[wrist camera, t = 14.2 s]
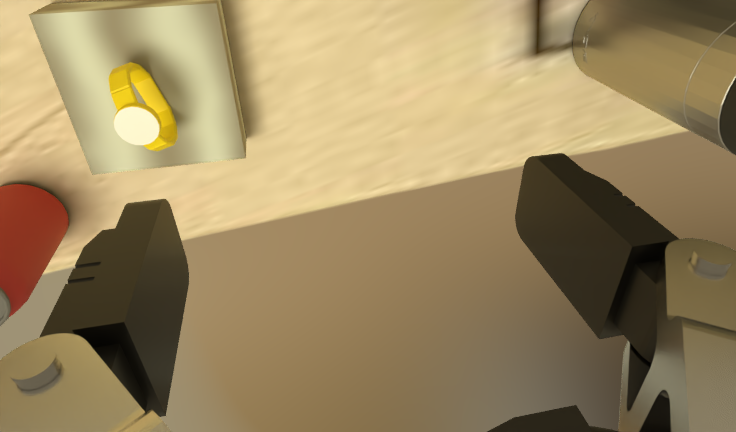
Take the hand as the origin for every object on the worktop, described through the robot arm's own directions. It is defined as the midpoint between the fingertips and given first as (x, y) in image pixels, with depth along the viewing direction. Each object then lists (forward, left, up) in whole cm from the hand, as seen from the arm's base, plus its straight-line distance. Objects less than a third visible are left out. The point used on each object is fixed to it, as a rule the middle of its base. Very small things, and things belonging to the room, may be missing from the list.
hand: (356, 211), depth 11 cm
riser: (+11, +6, -32) cm, 34 cm away
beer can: (+25, +17, -32) cm, 44 cm away
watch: (+11, +6, -28) cm, 31 cm away
